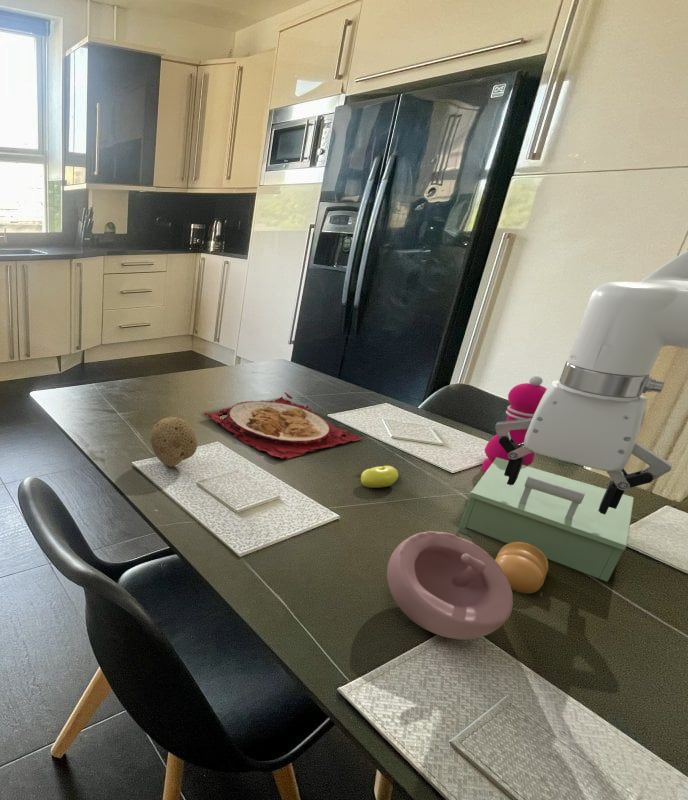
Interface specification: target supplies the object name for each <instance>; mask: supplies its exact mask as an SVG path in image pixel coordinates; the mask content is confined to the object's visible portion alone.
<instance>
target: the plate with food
mask: <svg viewBox="0 0 688 800" xmlns="http://www.w3.org/2000/svg"><path fill="white" fill-rule="evenodd" d="M284 394H285V396H286V398H284V397H283V396H281V397H279V398H277V399H274V400H262V399H261V400H250V401H247V400H246V401H240V402H238V403H236V404H233V405H232V406H231V407H228V408H222V409H221V410H219V411H215V412H211V413H210V412H204V416H207V417H208V418H209V419H212V421H214V422H216V423H219V424H220V425H221V426H222V428H224V429H226V431H229V432H231V433H232V435H233V437H235V438H236V439H237V440H238V441H240V442H242V443H243V444H245V445H247V446H248V447H253V448H254V449H257V450H259V451H261V452H262V451H263V452H265V453H267V454H268V455H270V456H272V457H276V458H280V459H282V460H283V459H286V460H288V459H291V458H294V457H300V456H303V455H304V454H306V453H307V452H314V451H317V450H319V449H325V448H331V447H332V448H333V447H335V446H337V445H338V446H339V444H340V445H344V444H346V443H350V442H357V441H360V440H363V438H362V437H360V436H358V435H356V434H353V433H351V432H350V431H349V430H343V429H341V428H338V427H337V426H336V425H333V424H331V423H330V422H328V421H327V420H325V419H324V418H323V417H322V416H321V415H318V414H316V412H312V409H311V408H309V406H308V405H306V406H305V405H301V404H297V403H292V402H291V400H292V399H293V398H294V397H293V396H291V395H290V394H288V392H286V391H285V392H284ZM287 398H288V399H290V400H288V399H287ZM222 415H227V417H226V418H224V419H222V418H221V419H220V416H222ZM343 435H345V436H343Z"/></svg>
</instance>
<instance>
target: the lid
mask: <svg viewBox="0 0 688 800" xmlns="http://www.w3.org/2000/svg"><path fill="white" fill-rule="evenodd" d="M508 462H509V461H508V460H504V459H501V458H496V459H495V460H494V462H493V463H492V464H491V466H490V467H489V468H488V470H487V471H486V472H484V474H483V475H482V476H481V478H480V479H479V480H478V482H477V483H476V485H475V486H474V487H473V488H472V490H471V491H470V493H469V498H470V497H472V498H475V499H478V500H481V501H483V502H486V503H489V504H492V505H495V506H498V507H501V508H504V509H506V510H509V511H512V512H515V513H518V514H521V515H524V516H527V517H529V518H532V519H535V520H538V521H541V522H544V523H547V524H549V525H552V526H555V527H558V528H561V529H564V530H567V531H570V532H572V533H575V534H578V535H581V536H584V537H587V538H590V539H593V540H595V541H598V542H601V543H604V544H607V545H610V546H613V547H615V548H618V549H621V550H624V551H625V550H626V548H627V546H628V540H629V534H630V527H631V520H632V513H633V506H634V501H635V497H634V496H631V495H627V494H624V493H623V495H622V497H621V499H620V501H619V504H618V506H617V508H616V509H614V508H611V507H609V508H608V510H607V512H606V514H602V513H600V512H599V511H598V510H599V507H600V503H601V501H602V499H603V496H604V494H605V492H606V490H607V488H604V487H600V486H596V485H594V484H590V483H586V482H583V481H579V480H576V479H572V478H569V477H565V476H562V475H559V474H556V473H552V472H548V471H545V470H542V469H539V468H535V467H531V466H529V465H528V466H525V465H522V467H521V470H520V472H519V475H518V478H517V480H516V482H515V483H514V485H508V484H507V482H508V479H509V477H508V476H504V473H505V470H506V467H507V465H508Z"/></svg>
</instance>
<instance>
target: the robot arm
mask: <svg viewBox="0 0 688 800" xmlns="http://www.w3.org/2000/svg"><path fill="white" fill-rule="evenodd" d="M666 346H667V347H669V346H671V347H678V348H683V349H688V249H687V250H685V251H683V252H682V253H680V254H678V255H676V256H675V257H673V258H672V259H671V260H669V261H668V262H666V263H664V264H663V265H661V266H660V267H659V268H657V269H655V270H654V271H652V272H651V273H649V274H648V275H647V276H645V277H644V278H643V279H641V280H640V281H608V282H605V283H601V284H600V285H598V286H597V287H595V289H594V290H593V291H592V292H591V295H590V297H589V300H588V302H587V305H586V307H585V311H584V313H583V316H582V318H581V322H580V325H579V327H578V330H577V332H576V334H575V338H574V340H573V343H572V345H571V348H570V351H569V354H568V356H567V360H566V362H565V364H564V366H563V369H562V373H561V375H560V377H559V380H552V381H551V383H550V384H549V385H548V387H546V388H547V390H546V392H545V393H544V395H543V397H542V399H541V401H540V403H539V405H538V407H537V409H536V411H535V413H534V416H533V418H526V419H518V420H510V421H507V420H502V421H498V422H496V423H495V425H494V430H495V433H496V434H497V436H498V438H499V443H500V445H501V446H502V447H503V448H504V450H505V451H506V452H507V454H508V457H509V458H510V459H509V462H508V465H507V467H506V470H505V473H504V476H508V477H509V479H508V482H507V484H508V485H514V483H515V482H516V480H517V478H518V475H519V472H520V470H521V467H522V464H523V461H524V459H525V457H523V456H525V455H527V454H530V453H532V452H534V454H538V455H541V456H544V457H548V458H551V459H552V458H553V459H556V460H560V461H563V462H567V463H571V464H574V465H578V466H582V467H586V468H590V469H594V470H598V471H602V472H606V474H607V475H608V476H609V477H610V478H611V480H610V481H609V483H608V485H607V487H606V489H607V490H606V492H605V494H604V496H603V499H602V501H601V503H600V507H599V510H598V511H599V512H600V513H602V514H606V512H607V510H608V508H609V507H611V508H614V509H616V508H617V506H618V504H619V501H620V499H621V497H622V495H623V494H624V492H625V491H628V490H630V489H631V488H635V487H637V486H638V487H639V486H643V485H647V484H650V483H652V482H653V481H654V480H656V479H658V478H660V477H662V476H664V475H665V474H668V473H669V472H670V471H671V470H672V467H673V466H672V463H671V462H670V461H668V460H666V459H665V458H664V457H662V456H660V455H659V454H657V453H656V452H654V451H652V450H651V449H649V448H648V447H647V446H645V445H643V444H641V443H640V442H638V438H639V436H640V432H641V429H642V426H643V423H644V419H645V417H646V412H647V407H648V397H646V396H644V395H642V394H646V393H652V392H653V393H659V394H661V393H662V390H663V388H664V386H665V383H666V382H664V381H658V380H657V379H654V378H653V377H652V376H650V375H651V373H652V370H653V368H654V366H655V363H656V361H657V359H658V357H659V354H660V353H661V350H662V348H663V347H666ZM520 429H528V430H527V433H526V436H525V439H524V442H523V443H521V444H519V445H517V444H516V443H515V441H514V440H513V439H512V438H511V436H510V433H509V431H511V430H520ZM632 455H633V456H634V457H636V458H638V459H639V460H640V461H642V462H644V463H645V464H646V465H648V467H646V468H645V469H643V470H638V471H633V472H631V473H628V470H626V466H627V464H628V462H629V460H630V458H631V456H632Z"/></svg>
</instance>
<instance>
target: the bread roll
mask: <svg viewBox="0 0 688 800" xmlns="http://www.w3.org/2000/svg"><path fill="white" fill-rule="evenodd" d="M494 560H495V561H496V562H497V564H498V565H499V566H500V567H501V569H502V570H503V572H504V574H505V576H506V577H507V579H508V582H509V584H510V586H511V590H512V591H514V592H517V593H520V594H527V595H528V594H533V593H536V592H538V591H539V590H541V588H542V587H543V585H544V582H545V580H546V577H547V575H548V572H549V559H547V558H546V557H545V555H544V554H543V552H542V551H540V550H539V549H538V548H536V547H535V546H533V545H530V544H527V543H523V542H512V543H509V544H508V543H506V544H505V545H503V546H502V547H501V548H500V549H499V551H498V552H497V555H496V556H495V559H494Z"/></svg>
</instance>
